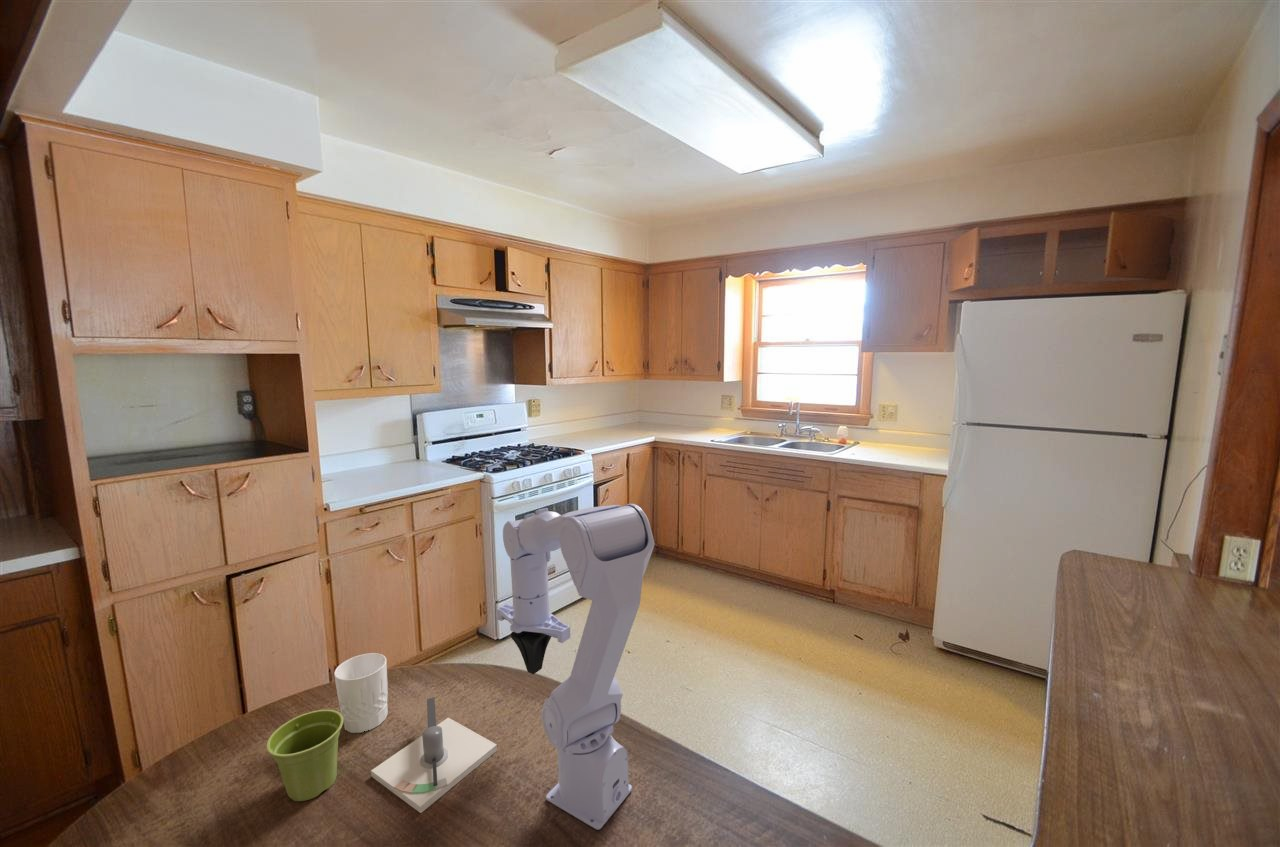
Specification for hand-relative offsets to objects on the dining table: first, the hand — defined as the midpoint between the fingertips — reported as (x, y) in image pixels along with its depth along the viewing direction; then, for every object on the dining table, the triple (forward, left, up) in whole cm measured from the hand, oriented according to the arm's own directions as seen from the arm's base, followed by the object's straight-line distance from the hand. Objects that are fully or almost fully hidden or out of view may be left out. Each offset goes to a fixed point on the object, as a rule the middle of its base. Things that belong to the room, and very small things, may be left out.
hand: (534, 670), depth 86 cm
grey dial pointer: (+9, +13, -9) cm, 18 cm away
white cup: (+27, +14, -11) cm, 32 cm away
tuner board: (+8, +14, -10) cm, 19 cm away
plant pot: (+20, +26, -11) cm, 34 cm away
